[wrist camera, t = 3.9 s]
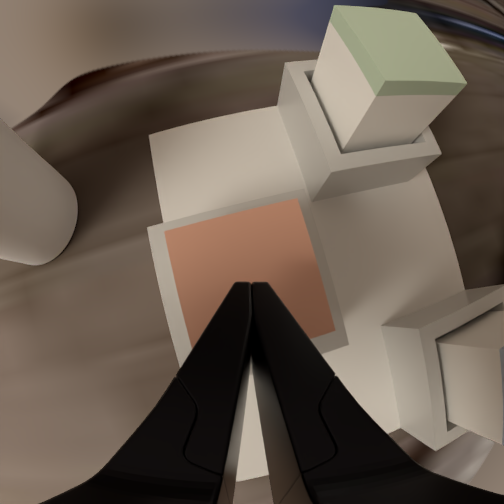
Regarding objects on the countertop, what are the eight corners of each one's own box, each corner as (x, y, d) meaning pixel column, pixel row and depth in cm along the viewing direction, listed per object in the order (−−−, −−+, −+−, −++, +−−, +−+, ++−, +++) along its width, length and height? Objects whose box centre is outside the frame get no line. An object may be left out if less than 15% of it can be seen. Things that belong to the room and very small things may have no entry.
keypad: (477, 382, 17) (519, 391, 12) (236, 480, 15) (236, 521, 11) (389, 95, 20) (413, 59, 16) (149, 136, 19) (129, 95, 14)
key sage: (409, 145, 16) (467, 83, 10) (339, 155, 15) (385, 80, 9) (376, 82, 16) (416, 13, 10) (309, 87, 16) (334, 5, 10)
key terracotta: (300, 323, 16) (335, 330, 10) (213, 346, 16) (197, 368, 10) (276, 237, 17) (297, 197, 11) (191, 259, 16) (163, 231, 10)
